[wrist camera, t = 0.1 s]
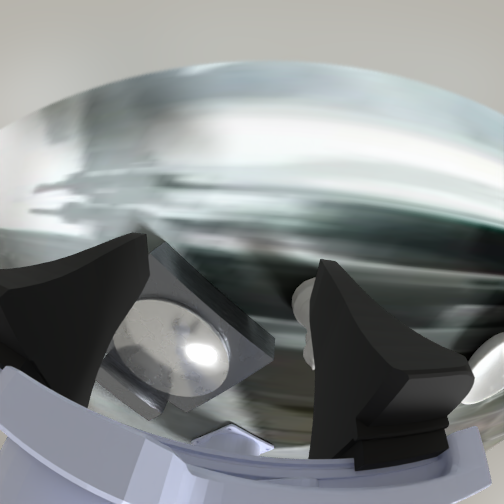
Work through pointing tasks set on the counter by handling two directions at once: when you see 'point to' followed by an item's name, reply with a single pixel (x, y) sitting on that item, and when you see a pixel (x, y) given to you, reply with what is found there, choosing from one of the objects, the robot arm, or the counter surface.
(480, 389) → the spoon rest
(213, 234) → the counter surface
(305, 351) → the rook chess piece
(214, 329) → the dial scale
